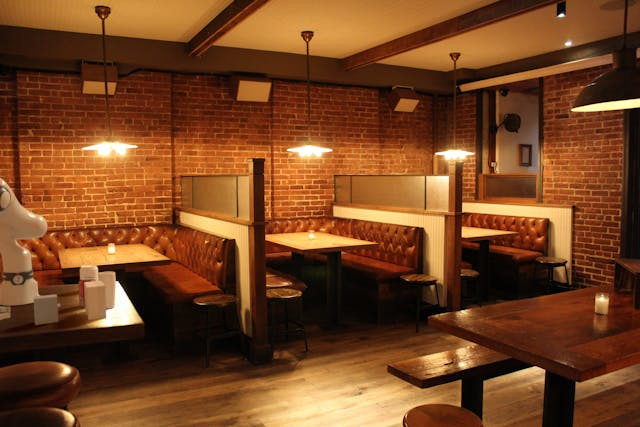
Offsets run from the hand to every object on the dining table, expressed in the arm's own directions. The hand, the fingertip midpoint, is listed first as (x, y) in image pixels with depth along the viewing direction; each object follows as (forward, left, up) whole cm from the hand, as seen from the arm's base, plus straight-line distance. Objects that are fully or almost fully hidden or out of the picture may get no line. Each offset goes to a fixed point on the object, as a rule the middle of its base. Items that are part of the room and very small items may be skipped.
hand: (10, 311), depth 207 cm
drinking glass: (-11, +36, -6) cm, 38 cm away
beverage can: (-50, +33, -6) cm, 60 cm away
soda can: (-19, +29, -6) cm, 35 cm away
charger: (0, +12, -6) cm, 13 cm away
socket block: (0, +30, -6) cm, 30 cm away
